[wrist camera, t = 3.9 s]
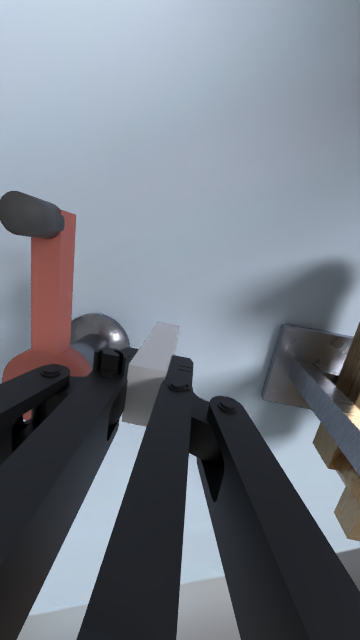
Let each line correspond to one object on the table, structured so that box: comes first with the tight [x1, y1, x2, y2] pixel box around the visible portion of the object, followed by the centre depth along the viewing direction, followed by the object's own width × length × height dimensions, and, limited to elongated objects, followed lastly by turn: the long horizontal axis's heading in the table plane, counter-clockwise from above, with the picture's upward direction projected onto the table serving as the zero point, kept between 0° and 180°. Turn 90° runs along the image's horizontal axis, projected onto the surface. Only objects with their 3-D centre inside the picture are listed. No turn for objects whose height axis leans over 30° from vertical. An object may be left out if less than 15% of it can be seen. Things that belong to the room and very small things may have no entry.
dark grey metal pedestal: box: [70, 314, 130, 370], centre depth 22 cm, size 7×7×7 cm
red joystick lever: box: [0, 191, 92, 421], centre depth 15 cm, size 15×6×4 cm, turn 170°
